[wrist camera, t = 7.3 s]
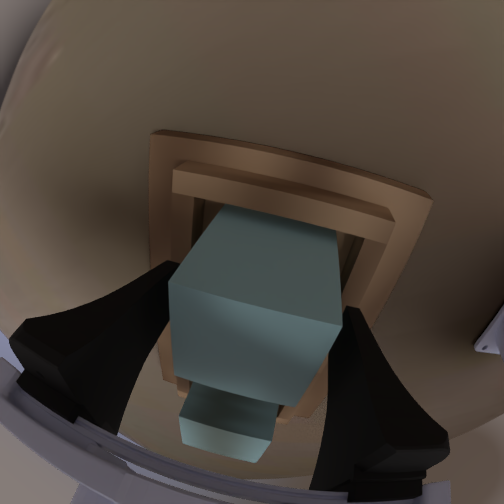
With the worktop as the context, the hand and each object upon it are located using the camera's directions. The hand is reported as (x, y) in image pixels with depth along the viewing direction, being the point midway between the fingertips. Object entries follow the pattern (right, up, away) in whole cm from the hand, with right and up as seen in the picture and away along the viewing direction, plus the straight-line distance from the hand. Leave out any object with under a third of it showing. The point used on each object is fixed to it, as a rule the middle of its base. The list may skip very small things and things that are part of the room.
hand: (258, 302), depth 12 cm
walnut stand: (0, -2, +6) cm, 6 cm away
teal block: (+1, +2, +2) cm, 3 cm away
